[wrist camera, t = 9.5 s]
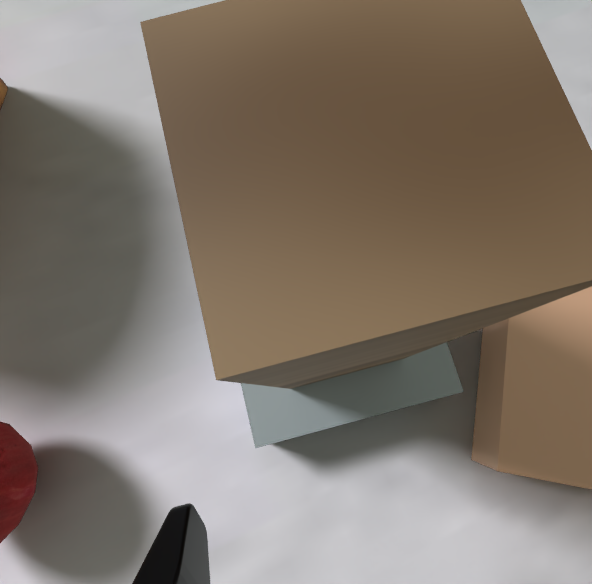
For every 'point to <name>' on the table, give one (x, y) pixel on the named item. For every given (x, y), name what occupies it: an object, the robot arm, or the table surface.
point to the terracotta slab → (538, 393)
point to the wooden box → (2, 92)
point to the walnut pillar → (367, 177)
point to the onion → (15, 478)
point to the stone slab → (349, 396)
